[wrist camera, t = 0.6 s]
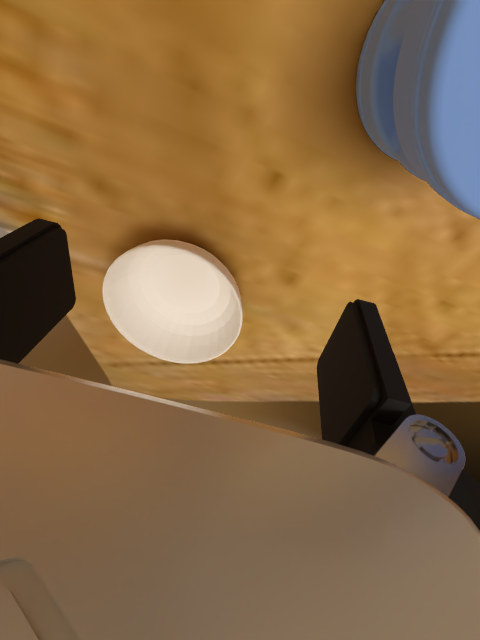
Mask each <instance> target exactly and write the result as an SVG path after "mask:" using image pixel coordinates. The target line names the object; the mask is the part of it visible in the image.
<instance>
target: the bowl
mask: <svg viewBox="0 0 480 640" xmlns="http://www.w3.org/2000/svg"><path fill="white" fill-rule="evenodd" d="M102 290H103V301H104V304H105V308H106V311H107V313H108V315H109V317H110V319H111V321H112V323H113V324H114V325H115V327H116V328H117V329H118V331H119V332H120V333H121V334H122V335H123V336H124V337H125V338H126V339H127V340H128V341H129V342H131V343H132V344H133V345H135V346H136V347H137V348H139V349H141V350H142V351H144V352H146V353H148V354H150V355H152V356H155V357H157V358H160V359H163V360H167V361H171V362H176V363H199V362H204V361H208V360H211V359H213V358H216V357H218V356H220V355H221V354H223V353H224V352H226V351H227V350H228V349H229V348H230V347H231V346H232V345H233V344H234V342H235V341H236V339H237V337H238V335H239V334H240V330H241V326H242V314H243V311H242V301H241V296H240V292H239V288H238V286H237V284H236V282H235V279H234V278H233V276H232V275H231V273H230V272H229V271H228V269H227V268H226V267H225V266H224V265H223V264H222V263H221V262H220V261H219V260H218V259H217V258H216V257H215V256H214V255H212V254H211V253H209V252H208V251H206V250H205V249H203V248H200V247H198V246H196V245H194V244H190V243H186V242H182V241H178V240H166V239H162V240H155V241H149V242H146V243H144V244H141V245H139V246H136V247H134V248H132V249H130V250H128V251H126V252H125V253H124V254H122V255H121V256H119V257H118V258H117V259H116V260H115V261H114V262H113V263H112V264H111V266H110V267H109V269H108V271H107V273H106V276H105V278H104V283H103V289H102Z"/></svg>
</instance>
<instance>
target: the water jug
mask: <svg viewBox="0 0 480 640" xmlns="http://www.w3.org/2000/svg"><path fill="white" fill-rule="evenodd" d="M356 98H357V106H358V111H359V115H360V118H361V121H362V124H363V126H364V128H365V130H366V132H367V134H368V135H369V137H370V138H371V140H372V141H373V142H374V143H375V144H376V146H377V147H378V148H379V149H380V150H381V151H382V152H384V153H385V154H386V155H388V156H389V157H391V158H393V159H395V160H397V161H400V163H401V165H402V166H403V167H404V168H405V169H407V170H408V171H409V172H410V173H412V174H413V175H415V176H417V177H418V178H420V179H422V180H425V181H427V183H428V184H429V185H430V186H431V187H432V188H433V189H434V190H435V191H436V192H437V193H438V194H439V195H440V196H442V197H443V198H444V199H446V200H447V201H448V202H450V203H451V204H452V205H454V206H455V207H457V208H458V209H460V210H462V211H463V212H465V213H467V214H469V215H472V216H474V217H476V218H478V219H480V0H385V1H384V2H383V4H382V6H381V7H380V9H379V11H378V12H377V14H376V16H375V18H374V20H373V22H372V24H371V26H370V29H369V31H368V33H367V36H366V39H365V41H364V44H363V48H362V51H361V55H360V59H359V64H358V70H357V79H356Z"/></svg>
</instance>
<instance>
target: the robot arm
mask: <svg viewBox="0 0 480 640" xmlns="http://www.w3.org/2000/svg"><path fill="white" fill-rule="evenodd" d="M75 301H76V297H75V290H74V283H73V276H72V269H71V263H70V256H69V249H68V242H67V235H66V232H65V230H63V229H62V228H61V226H60V225H59V224H58V223H55V222H51V221H47V220H43V219H35V220H33V221H32V222H30V223H28V224H26V225H24V226H22V227H20V228H18V229H17V230H15V231H13V232H11V233H9V234H7V235H5V236H4V237H2V238H0V640H480V484H479V483H478V482H476V481H475V480H474V479H473V478H472V477H471V476H470V475H468V474H467V473H466V472H465V471H464V470H463V467H464V464H465V454H464V450H463V448H462V446H461V445H460V443H459V441H458V440H457V439H456V437H455V436H454V435H453V434H452V433H451V432H450V431H449V430H448V429H447V428H446V427H444V426H443V425H442V424H440V423H438V422H437V421H436V420H434V419H431V418H429V417H427V416H422V415H416V413H415V410H414V408H413V405H412V402H411V399H410V397H409V394H408V391H407V388H406V386H405V383H404V380H403V377H402V375H401V372H400V369H399V366H398V364H397V361H396V358H395V355H394V353H393V351H392V348H391V345H390V342H389V340H388V337H387V334H386V331H385V329H384V326H383V323H382V320H381V318H380V315H379V312H378V309H377V306H376V305H375V304H374V303H371V302H367V301H363V300H359V299H357V300H355V301H354V303H352V302H349V303H348V304H347V306H346V308H345V310H344V311H343V313H342V315H341V317H340V319H339V321H338V323H337V325H336V327H335V329H334V331H333V333H332V335H331V337H330V339H329V340H328V342H327V344H326V346H325V348H324V350H323V352H322V354H321V356H320V358H319V360H318V364H317V377H318V390H319V403H320V416H321V428H322V440H321V439H318V438H314V437H310V436H306V435H302V434H299V433H295V432H292V431H288V430H284V429H281V428H277V427H273V426H269V425H265V424H261V423H257V422H253V421H249V420H245V419H241V418H237V417H233V416H229V415H225V414H221V413H217V412H213V411H209V410H205V409H201V408H197V407H193V406H189V405H185V404H181V403H177V402H173V401H169V400H165V399H161V398H157V397H153V396H149V395H145V394H141V393H137V392H133V391H129V390H124V389H120V388H116V387H112V386H108V385H104V384H100V383H96V382H92V381H87V380H84V379H79V378H75V377H71V376H67V375H63V374H58V373H55V372H50V371H46V370H42V369H38V368H34V367H30V366H25V365H21V364H18V363H19V362H20V361H21V360H22V359H23V358H24V357H25V356H26V355H27V354H28V353H29V352H30V351H31V350H32V349H33V348H34V347H35V346H36V345H37V344H38V343H39V342H40V341H41V340H42V339H43V338H44V337H45V336H46V335H47V333H48V332H49V331H51V330H52V328H53V327H54V326H55V325H56V324H57V323H58V322H59V321H60V320H61V319H62V318H63V317H64V316H65V315H66V314H67V313H68V312H69V311H70V310H71V309H72V308H73V306H74V304H75Z"/></svg>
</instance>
